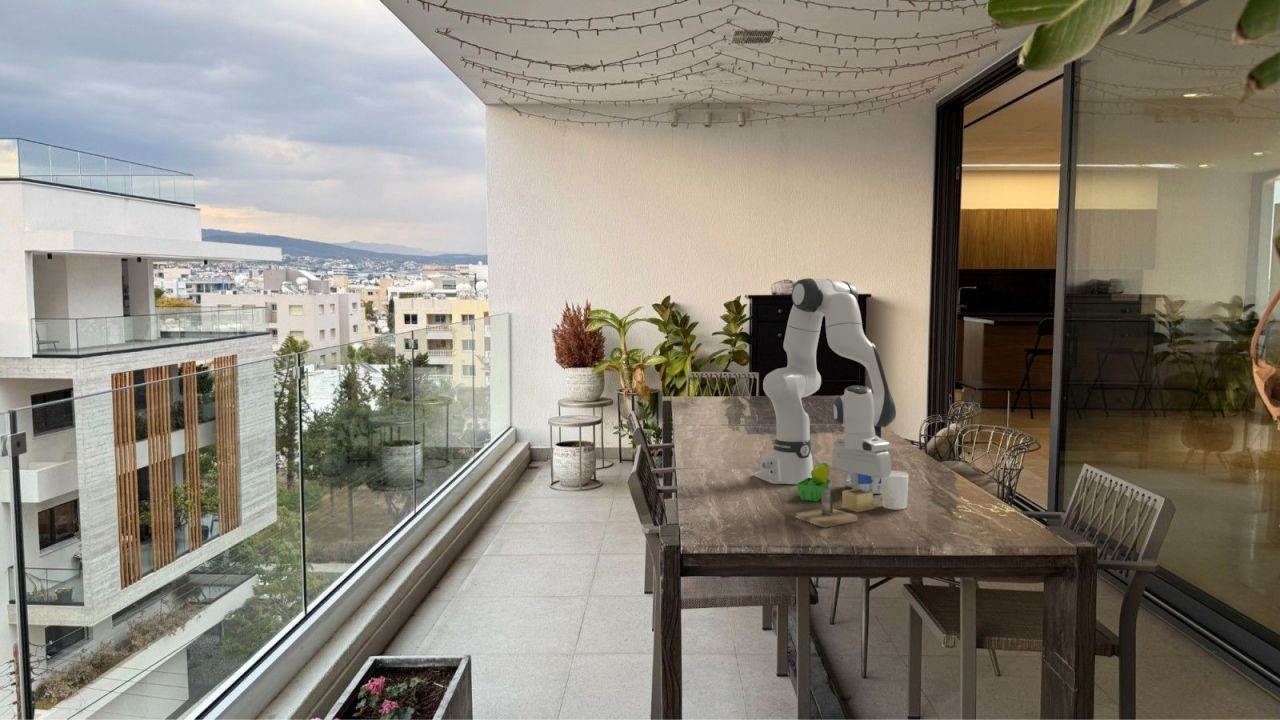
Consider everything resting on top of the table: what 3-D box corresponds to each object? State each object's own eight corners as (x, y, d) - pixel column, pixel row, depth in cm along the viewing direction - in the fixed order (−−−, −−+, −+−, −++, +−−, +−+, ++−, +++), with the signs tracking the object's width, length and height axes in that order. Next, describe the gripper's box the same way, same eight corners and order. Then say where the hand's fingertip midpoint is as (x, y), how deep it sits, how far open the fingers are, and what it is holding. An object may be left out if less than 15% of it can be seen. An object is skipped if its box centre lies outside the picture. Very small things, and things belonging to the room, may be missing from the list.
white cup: (890, 511, 242) (890, 477, 241) (875, 505, 249) (875, 472, 249) (914, 509, 244) (914, 475, 243) (898, 502, 251) (898, 470, 251)
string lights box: (882, 494, 263) (882, 412, 261) (858, 494, 262) (857, 413, 261) (870, 485, 276) (870, 407, 274) (847, 485, 276) (846, 408, 274)
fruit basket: (807, 492, 267) (807, 457, 266) (835, 495, 263) (834, 460, 262) (795, 500, 257) (794, 464, 257) (823, 503, 253) (822, 466, 252)
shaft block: (795, 518, 236) (795, 488, 236) (827, 512, 242) (827, 483, 242) (825, 527, 226) (824, 496, 226) (857, 520, 232) (857, 490, 232)
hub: (842, 507, 247) (842, 491, 247) (857, 504, 250) (857, 488, 250) (857, 512, 242) (857, 495, 241) (872, 509, 245) (872, 492, 244)
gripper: (826, 439, 251) (827, 484, 252) (878, 446, 234) (879, 495, 235) (841, 436, 255) (842, 481, 255) (894, 444, 237) (895, 492, 238)
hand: (860, 488), depth 245 cm, fingers open, 8 cm apart
